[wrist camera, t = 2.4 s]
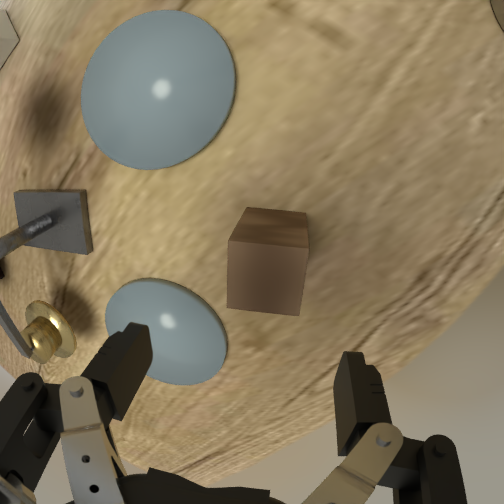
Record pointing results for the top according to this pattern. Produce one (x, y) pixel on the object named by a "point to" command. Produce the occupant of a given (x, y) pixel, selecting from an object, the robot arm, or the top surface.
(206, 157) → the top surface
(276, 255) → the walnut block
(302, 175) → the top surface
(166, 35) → the pale blue flat disc
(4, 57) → the milk carton
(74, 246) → the balance
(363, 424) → the robot arm
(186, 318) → the dish
